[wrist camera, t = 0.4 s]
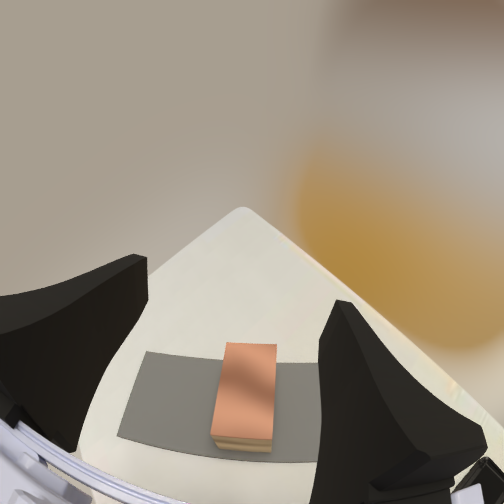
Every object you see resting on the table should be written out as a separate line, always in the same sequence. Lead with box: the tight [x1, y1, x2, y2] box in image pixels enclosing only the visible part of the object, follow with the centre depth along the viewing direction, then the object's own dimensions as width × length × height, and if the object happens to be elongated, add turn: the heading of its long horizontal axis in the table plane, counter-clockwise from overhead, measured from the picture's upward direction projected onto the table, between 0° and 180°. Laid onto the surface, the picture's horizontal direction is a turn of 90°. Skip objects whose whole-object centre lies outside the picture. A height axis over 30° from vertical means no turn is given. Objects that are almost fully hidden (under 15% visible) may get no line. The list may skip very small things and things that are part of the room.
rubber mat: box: [117, 351, 321, 462], centre depth 26 cm, size 12×21×1 cm, turn 85°
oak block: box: [210, 342, 277, 453], centre depth 24 cm, size 10×5×5 cm, turn 175°
